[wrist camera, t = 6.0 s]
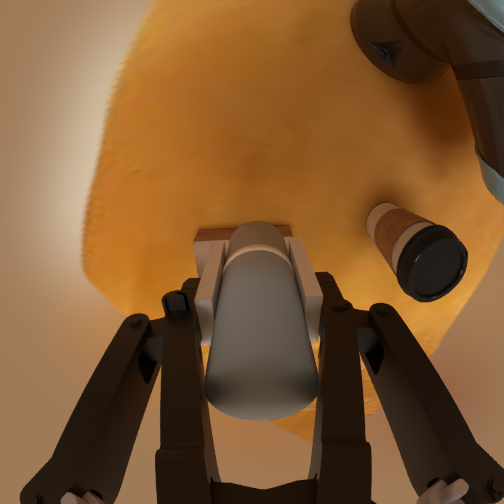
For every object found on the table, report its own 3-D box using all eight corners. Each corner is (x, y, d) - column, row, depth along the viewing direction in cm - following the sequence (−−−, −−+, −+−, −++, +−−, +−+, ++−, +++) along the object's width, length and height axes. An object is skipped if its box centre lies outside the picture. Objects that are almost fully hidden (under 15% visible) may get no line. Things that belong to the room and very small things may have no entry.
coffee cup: (415, 229, 37) (474, 278, 23) (372, 259, 39) (418, 321, 25) (395, 182, 34) (461, 217, 20) (347, 214, 36) (396, 266, 22)
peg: (225, 222, 19) (191, 354, 8) (286, 219, 19) (328, 348, 8) (230, 275, 20) (211, 420, 10) (286, 272, 20) (314, 417, 10)
